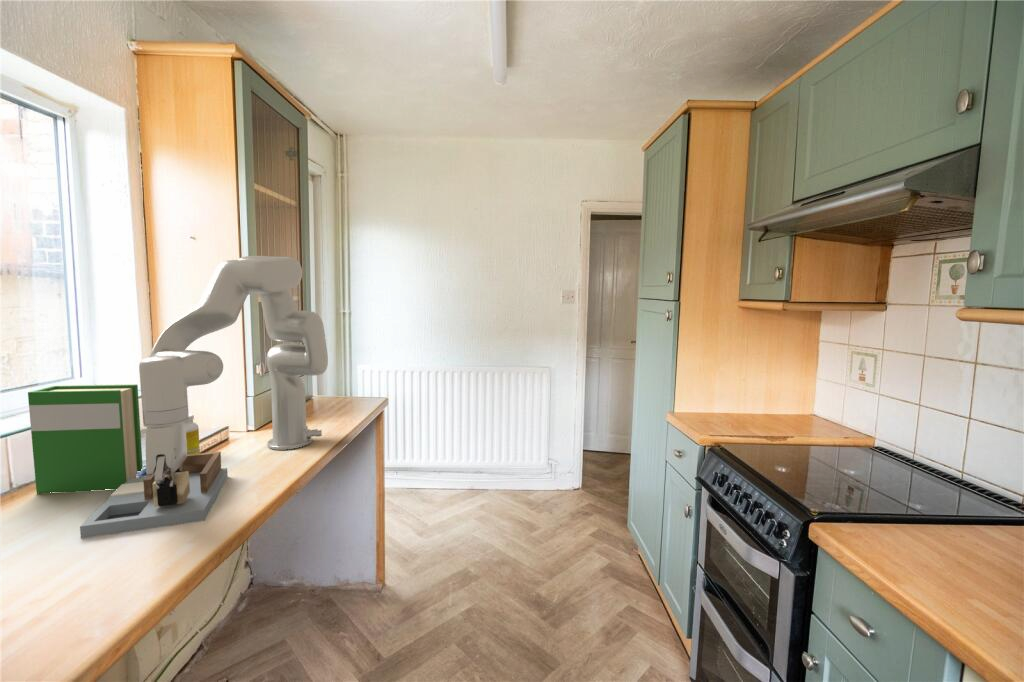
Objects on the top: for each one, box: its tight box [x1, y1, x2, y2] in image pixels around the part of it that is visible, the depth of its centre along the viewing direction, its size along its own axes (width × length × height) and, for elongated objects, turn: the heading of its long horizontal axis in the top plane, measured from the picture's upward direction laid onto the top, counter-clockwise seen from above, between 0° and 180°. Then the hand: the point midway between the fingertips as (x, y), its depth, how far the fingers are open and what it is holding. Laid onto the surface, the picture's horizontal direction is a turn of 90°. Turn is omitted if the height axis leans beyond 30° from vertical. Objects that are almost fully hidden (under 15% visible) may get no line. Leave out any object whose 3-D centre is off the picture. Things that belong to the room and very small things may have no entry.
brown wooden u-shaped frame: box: [143, 451, 222, 500], centre depth 105 cm, size 11×15×4 cm
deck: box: [79, 467, 228, 539], centre depth 101 cm, size 20×24×3 cm
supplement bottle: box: [184, 413, 201, 455], centre depth 125 cm, size 7×7×13 cm
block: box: [152, 471, 190, 507], centre depth 95 cm, size 5×5×5 cm
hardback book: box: [27, 384, 144, 495], centre depth 108 cm, size 18×7×24 cm, turn 101°
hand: (172, 497), depth 95 cm, fingers closed on block, 4 cm apart
